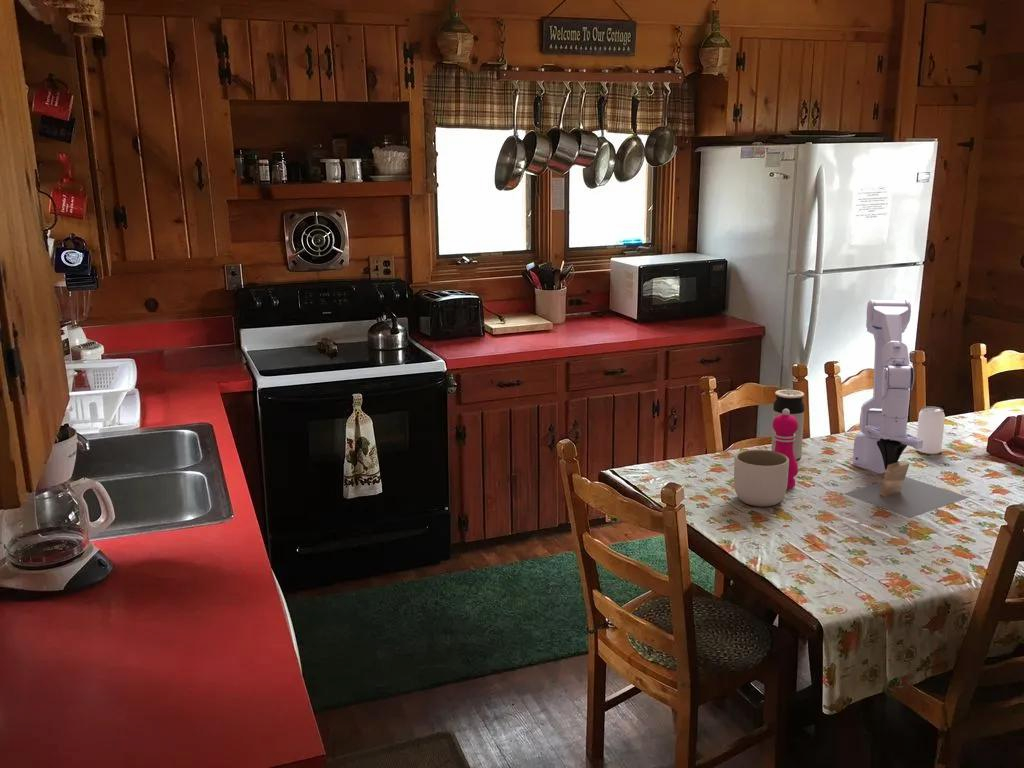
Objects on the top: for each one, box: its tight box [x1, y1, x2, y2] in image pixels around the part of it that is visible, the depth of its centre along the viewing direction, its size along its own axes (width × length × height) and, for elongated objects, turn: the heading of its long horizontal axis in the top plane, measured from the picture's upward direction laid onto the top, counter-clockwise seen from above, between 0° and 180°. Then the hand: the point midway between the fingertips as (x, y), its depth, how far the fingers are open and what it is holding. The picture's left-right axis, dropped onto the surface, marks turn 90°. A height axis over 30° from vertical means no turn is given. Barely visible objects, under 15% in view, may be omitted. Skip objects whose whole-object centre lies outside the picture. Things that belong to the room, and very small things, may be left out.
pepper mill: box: [772, 409, 799, 489], centre depth 219 cm, size 7×7×20 cm
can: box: [915, 406, 946, 455], centre depth 243 cm, size 6×6×12 cm
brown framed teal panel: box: [879, 460, 910, 497], centre depth 211 cm, size 2×6×8 cm, turn 122°
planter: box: [733, 448, 789, 508], centre depth 211 cm, size 12×12×11 cm
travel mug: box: [770, 389, 805, 460], centre depth 240 cm, size 8×8×18 cm
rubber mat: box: [843, 476, 970, 519], centre depth 212 cm, size 18×22×1 cm
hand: (889, 469), depth 212 cm, fingers closed
